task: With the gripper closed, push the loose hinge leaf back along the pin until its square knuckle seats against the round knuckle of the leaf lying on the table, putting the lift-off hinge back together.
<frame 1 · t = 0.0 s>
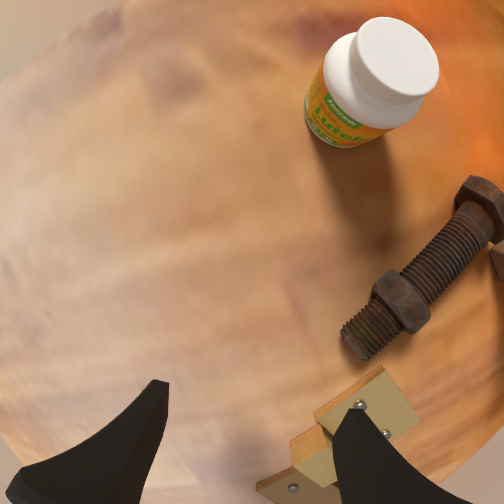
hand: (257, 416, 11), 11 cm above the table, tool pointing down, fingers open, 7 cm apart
loose leaf: (358, 437, 21), point 2 cm above the table, slide at 6.0 cm
fixed leaf: (351, 472, 24), on the table
supplement bottle: (339, 112, 20), on the table
bolt: (413, 264, 21), on the table
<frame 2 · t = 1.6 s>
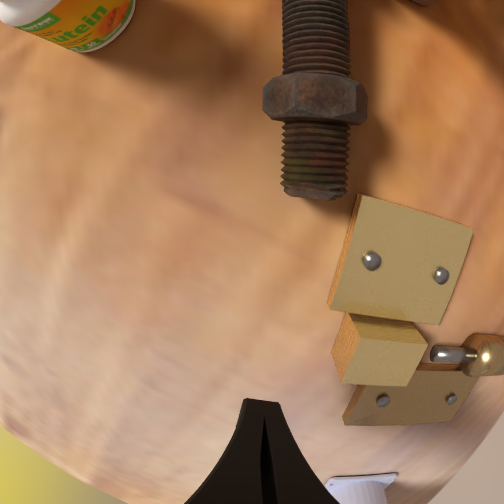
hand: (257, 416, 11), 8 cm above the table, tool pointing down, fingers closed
loose leaf: (403, 300, 16), point 2 cm above the table, slide at 6.0 cm
fixed leaf: (442, 342, 19), on the table
supplement bottle: (99, 17, 13), on the table
bolt: (306, 57, 14), on the table
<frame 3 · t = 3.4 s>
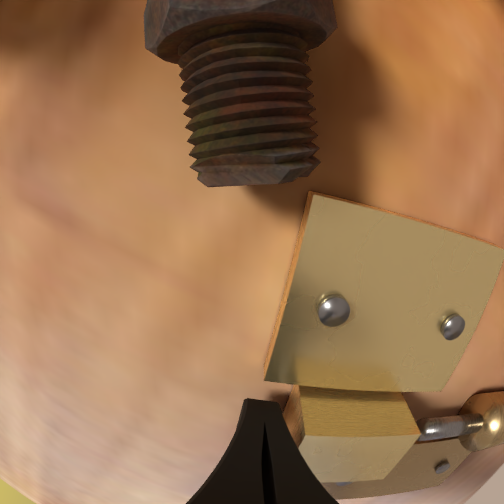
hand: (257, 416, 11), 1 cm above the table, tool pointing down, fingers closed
loose leaf: (386, 370, 10), point 2 cm above the table, slide at 5.4 cm, touching gripper
fixed leaf: (435, 406, 12), on the table
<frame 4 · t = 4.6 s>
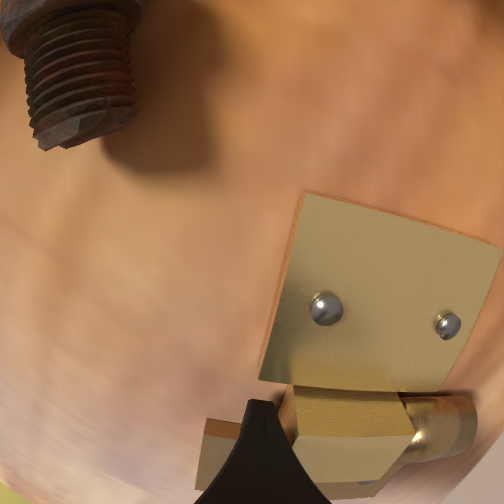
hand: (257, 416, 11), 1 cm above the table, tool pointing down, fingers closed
loose leaf: (380, 370, 10), point 2 cm above the table, slide at -0.1 cm, touching gripper
fixed leaf: (337, 406, 12), on the table
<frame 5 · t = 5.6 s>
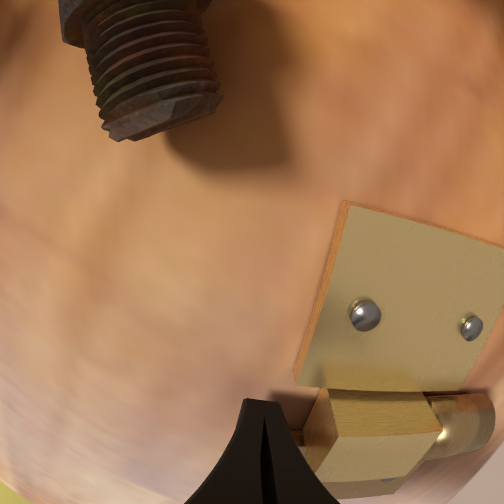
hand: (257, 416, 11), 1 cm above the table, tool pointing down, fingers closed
loose leaf: (411, 371, 10), point 2 cm above the table, slide at 0.0 cm
fixed leaf: (365, 407, 12), on the table
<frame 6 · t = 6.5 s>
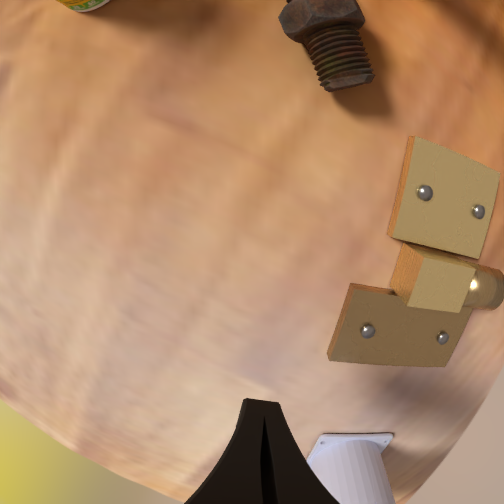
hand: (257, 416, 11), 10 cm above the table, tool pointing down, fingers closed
loose leaf: (451, 229, 17), point 2 cm above the table, slide at 0.0 cm
fixed leaf: (425, 269, 20), on the table
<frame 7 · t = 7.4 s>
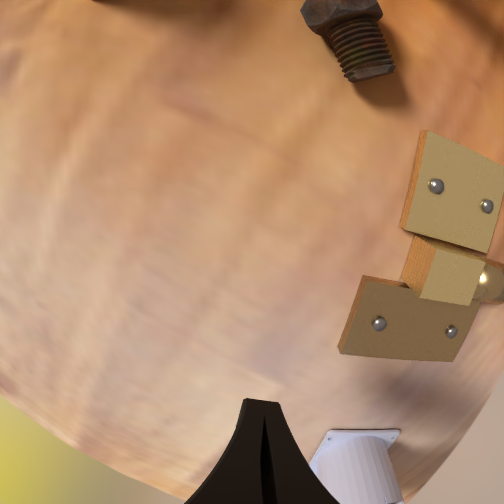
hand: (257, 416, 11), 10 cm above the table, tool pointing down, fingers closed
loose leaf: (462, 223, 17), point 2 cm above the table, slide at 0.0 cm
fixed leaf: (435, 263, 20), on the table
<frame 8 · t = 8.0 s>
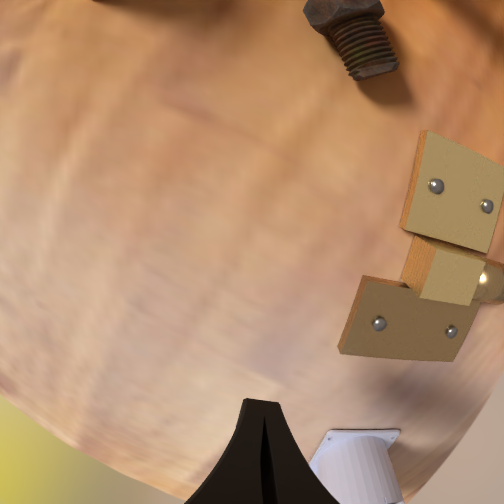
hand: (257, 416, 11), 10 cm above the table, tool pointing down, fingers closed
loose leaf: (462, 223, 17), point 2 cm above the table, slide at 0.0 cm
fixed leaf: (435, 263, 20), on the table
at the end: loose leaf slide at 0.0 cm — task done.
